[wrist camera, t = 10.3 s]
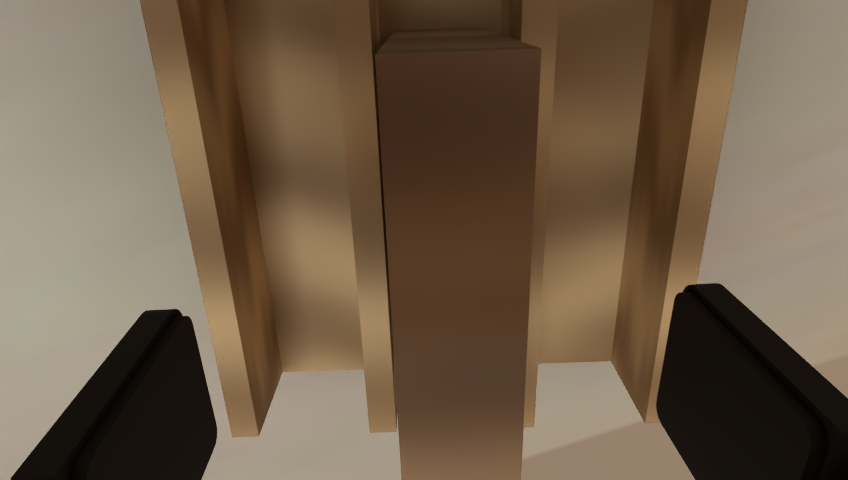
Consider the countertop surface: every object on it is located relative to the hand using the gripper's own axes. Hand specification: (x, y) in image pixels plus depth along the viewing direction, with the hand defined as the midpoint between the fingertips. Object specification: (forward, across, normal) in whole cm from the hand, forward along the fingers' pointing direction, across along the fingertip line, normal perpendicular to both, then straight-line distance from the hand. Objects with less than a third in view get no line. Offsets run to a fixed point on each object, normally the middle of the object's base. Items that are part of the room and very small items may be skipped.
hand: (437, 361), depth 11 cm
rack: (+13, -1, +1) cm, 13 cm away
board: (+11, -1, +1) cm, 11 cm away
